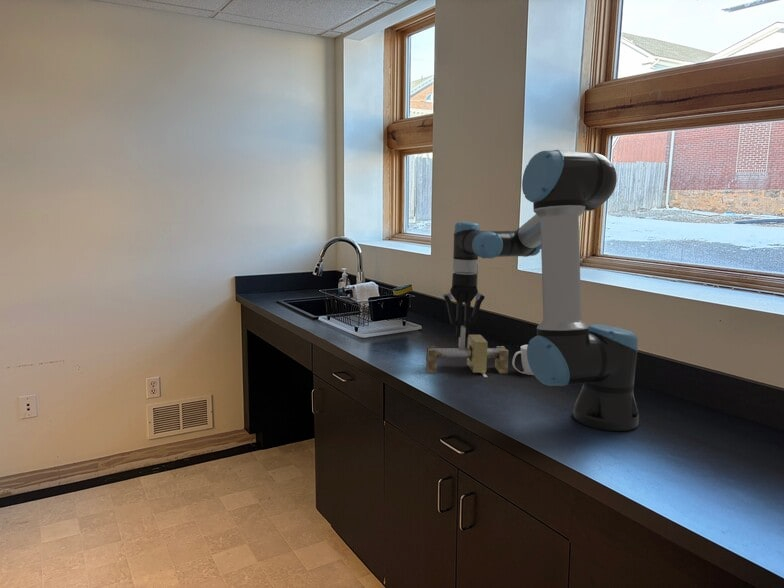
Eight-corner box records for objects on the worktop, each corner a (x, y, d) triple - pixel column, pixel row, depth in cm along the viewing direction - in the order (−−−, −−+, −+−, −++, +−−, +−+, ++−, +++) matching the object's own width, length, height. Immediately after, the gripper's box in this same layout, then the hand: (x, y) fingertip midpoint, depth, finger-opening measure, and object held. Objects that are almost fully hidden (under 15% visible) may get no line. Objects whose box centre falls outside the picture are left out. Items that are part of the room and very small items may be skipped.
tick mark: (477, 363, 193) (477, 363, 193) (487, 377, 179) (487, 376, 179) (474, 363, 193) (474, 363, 193) (484, 377, 179) (484, 376, 179)
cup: (546, 375, 183) (548, 349, 182) (518, 378, 179) (520, 351, 178) (533, 368, 189) (534, 343, 188) (505, 371, 186) (507, 346, 184)
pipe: (503, 356, 188) (504, 346, 187) (506, 360, 184) (507, 349, 184) (427, 357, 186) (427, 346, 185) (429, 360, 182) (429, 349, 182)
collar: (479, 363, 191) (480, 334, 189) (486, 372, 181) (487, 342, 180) (466, 363, 190) (468, 334, 189) (473, 372, 181) (474, 342, 179)
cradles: (502, 367, 190) (503, 345, 189) (507, 373, 184) (508, 351, 183) (425, 367, 188) (426, 345, 186) (428, 373, 182) (429, 351, 180)
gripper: (482, 271, 189) (479, 344, 193) (441, 270, 188) (439, 344, 192) (488, 274, 182) (484, 350, 186) (446, 274, 181) (443, 350, 185)
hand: (461, 346), depth 189 cm, fingers closed
